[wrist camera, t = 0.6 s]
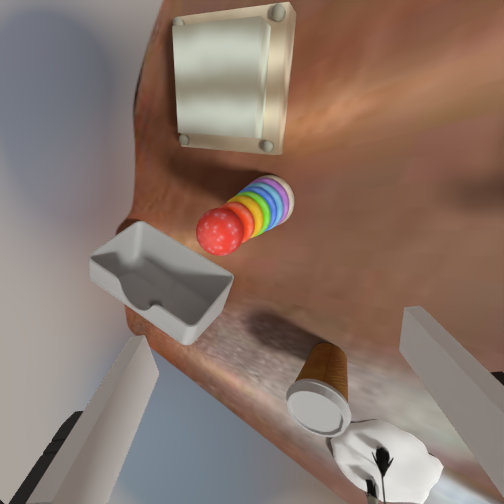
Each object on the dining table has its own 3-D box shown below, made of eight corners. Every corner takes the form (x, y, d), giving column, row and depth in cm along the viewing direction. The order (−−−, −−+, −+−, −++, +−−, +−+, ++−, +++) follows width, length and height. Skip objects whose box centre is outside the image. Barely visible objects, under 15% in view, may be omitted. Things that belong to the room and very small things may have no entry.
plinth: (188, 25, 37) (158, 7, 32) (296, 13, 31) (280, -12, 26) (192, 146, 43) (168, 146, 38) (282, 154, 37) (267, 155, 32)
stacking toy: (243, 212, 44) (168, 251, 28) (257, 166, 40) (178, 181, 24) (284, 232, 42) (228, 285, 26) (303, 185, 38) (250, 215, 22)
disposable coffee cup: (333, 385, 49) (321, 447, 39) (293, 352, 50) (272, 404, 40) (369, 362, 44) (366, 426, 34) (324, 325, 45) (308, 378, 35)
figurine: (397, 510, 52) (409, 636, 38) (317, 451, 57) (300, 544, 43) (465, 461, 44) (511, 598, 30) (364, 397, 49) (363, 489, 34)
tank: (134, 275, 63) (85, 301, 53) (140, 218, 55) (84, 236, 45) (216, 329, 57) (180, 371, 47) (237, 276, 49) (199, 311, 39)
